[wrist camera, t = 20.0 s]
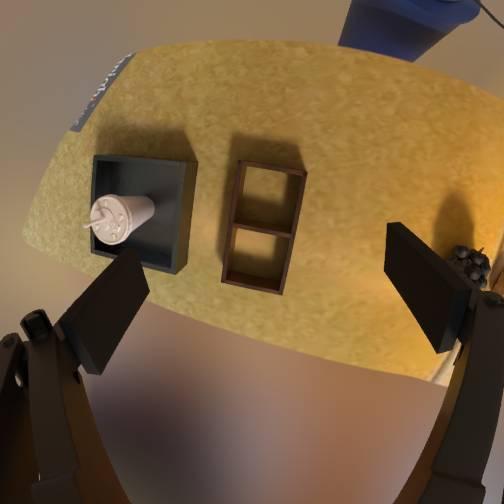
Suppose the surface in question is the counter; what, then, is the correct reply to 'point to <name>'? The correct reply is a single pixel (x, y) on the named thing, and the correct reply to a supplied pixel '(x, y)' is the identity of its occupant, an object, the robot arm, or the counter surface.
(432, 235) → the counter surface
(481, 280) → the fruit
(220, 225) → the counter surface
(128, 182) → the dark grey square tray
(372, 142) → the counter surface
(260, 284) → the wooden divided frame
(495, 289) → the bagel
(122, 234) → the smoothie
